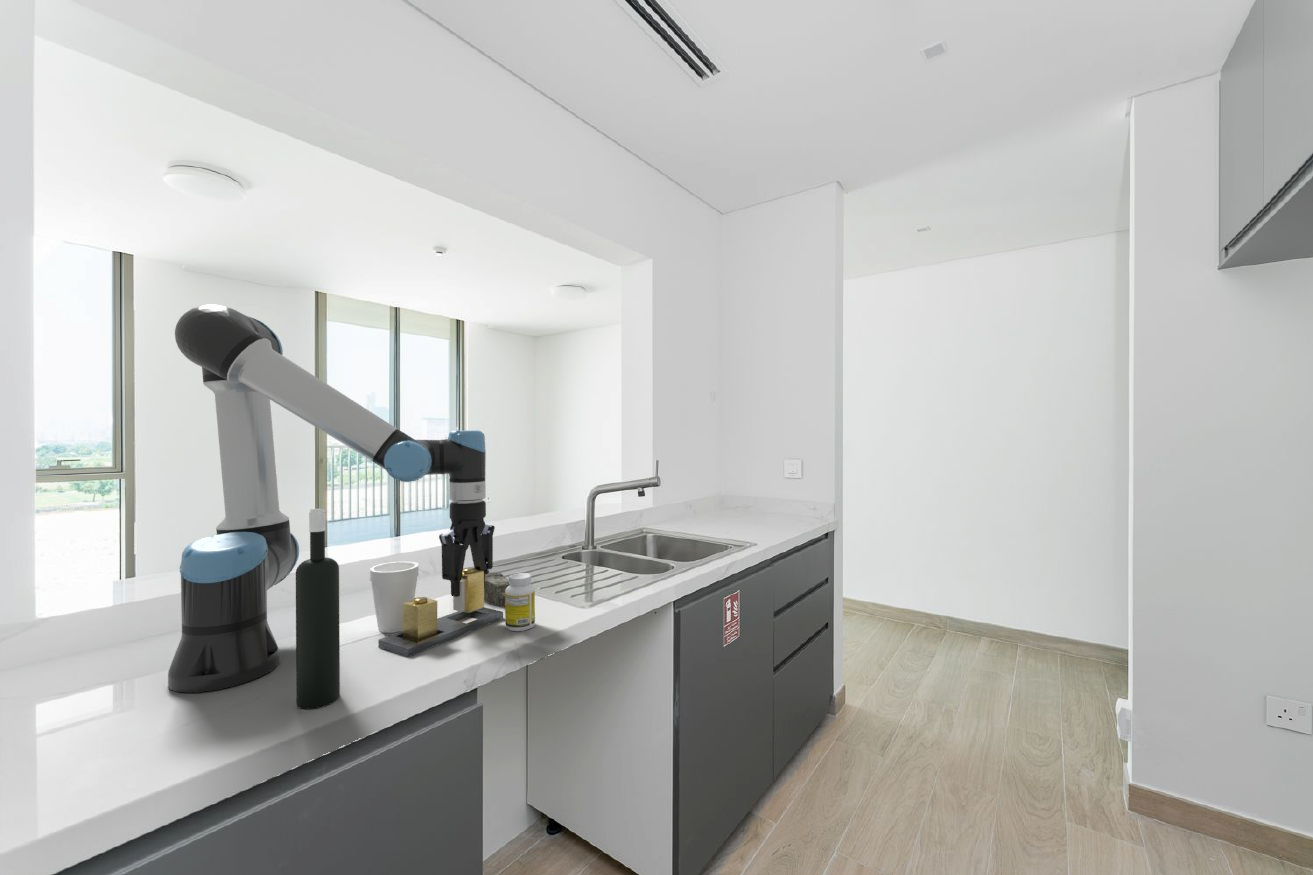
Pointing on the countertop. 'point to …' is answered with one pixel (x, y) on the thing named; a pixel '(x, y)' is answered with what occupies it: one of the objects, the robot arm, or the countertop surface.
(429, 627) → the brass block with knob
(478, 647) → the countertop surface
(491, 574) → the stone
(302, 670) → the wine bottle
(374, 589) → the foam cup
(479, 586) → the brass knobbed block
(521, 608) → the pill bottle
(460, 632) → the dark grey slotted tray
